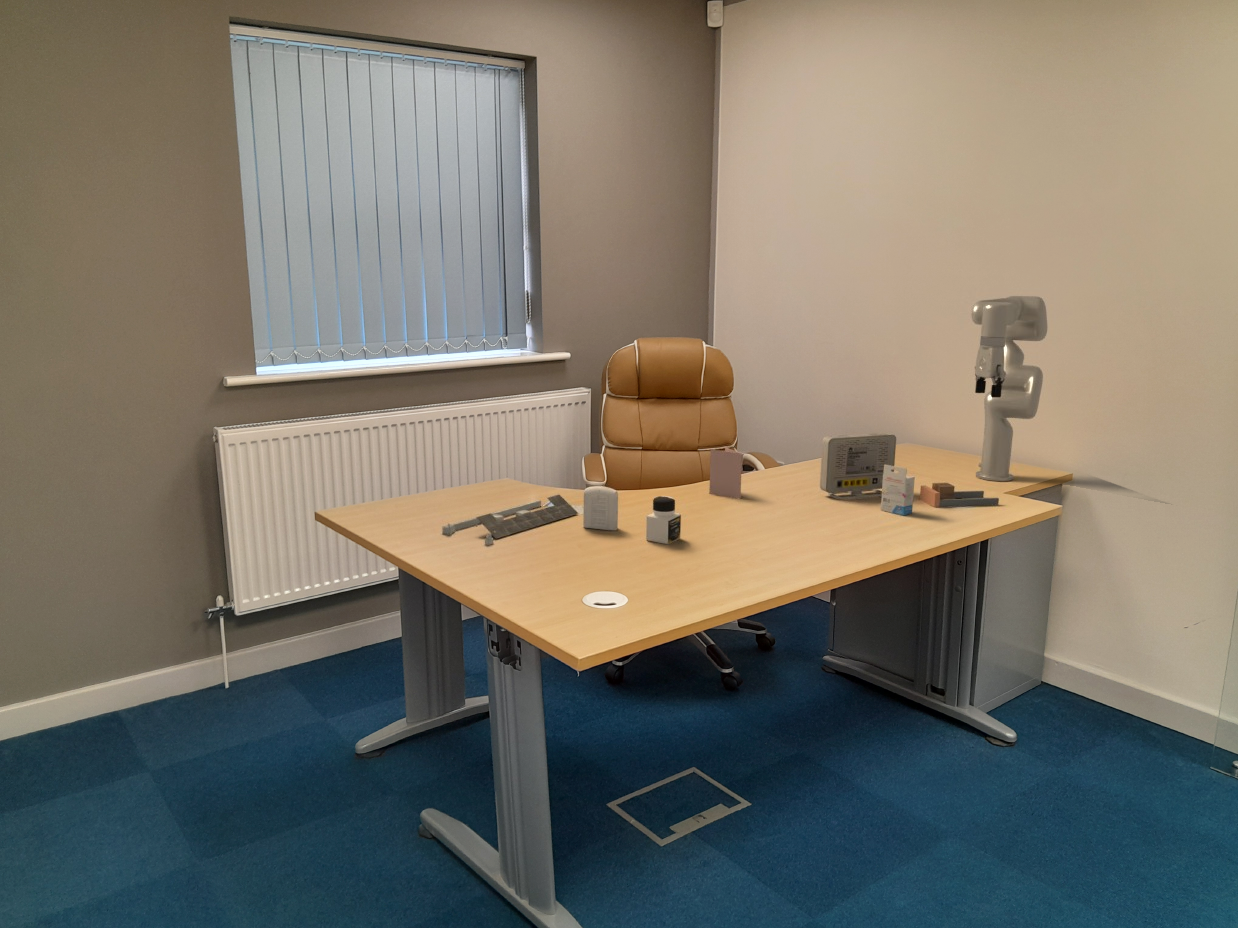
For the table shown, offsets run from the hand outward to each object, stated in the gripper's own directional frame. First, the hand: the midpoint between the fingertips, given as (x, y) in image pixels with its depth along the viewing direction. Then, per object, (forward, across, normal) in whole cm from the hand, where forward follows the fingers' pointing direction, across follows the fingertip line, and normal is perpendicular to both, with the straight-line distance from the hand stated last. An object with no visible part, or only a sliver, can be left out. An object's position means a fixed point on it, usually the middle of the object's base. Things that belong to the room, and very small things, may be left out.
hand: (987, 395), depth 301 cm
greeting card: (+34, -8, -85) cm, 92 cm away
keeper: (+33, +9, -17) cm, 39 cm away
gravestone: (+34, +25, -130) cm, 137 cm away
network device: (+34, -4, -41) cm, 53 cm away
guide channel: (+33, +9, -11) cm, 36 cm away
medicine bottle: (+34, +38, -114) cm, 125 cm away
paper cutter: (+34, +16, -152) cm, 157 cm away
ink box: (+34, +18, -37) cm, 53 cm away
